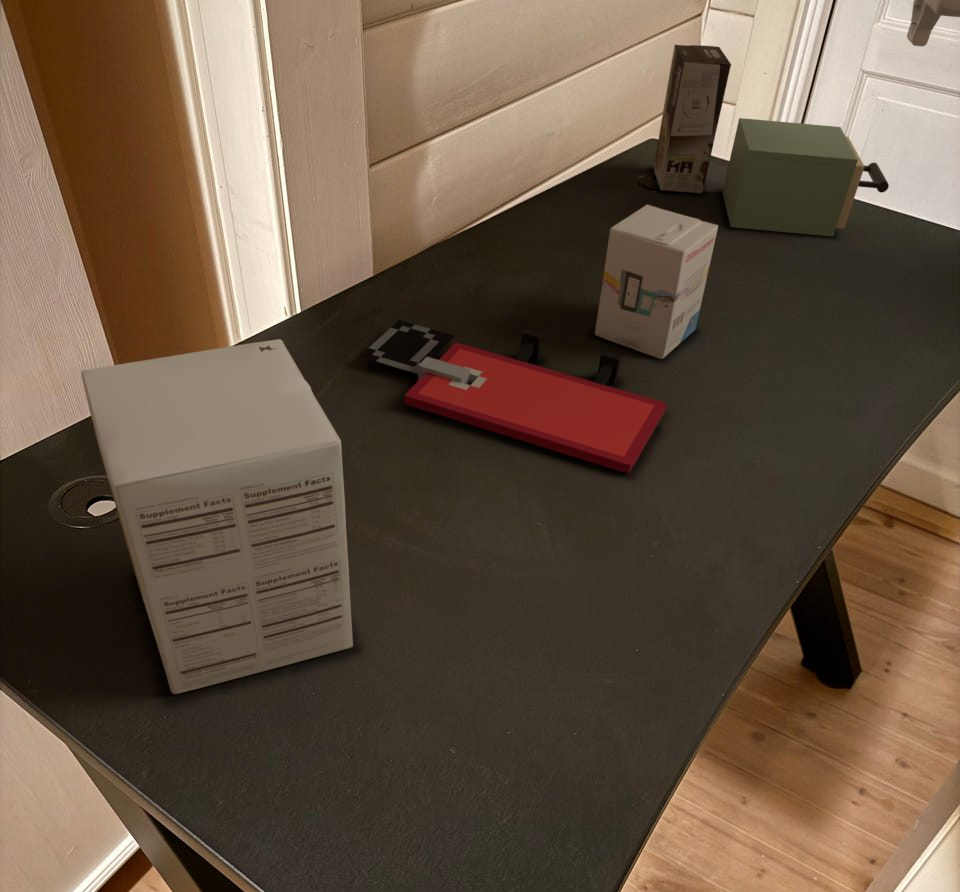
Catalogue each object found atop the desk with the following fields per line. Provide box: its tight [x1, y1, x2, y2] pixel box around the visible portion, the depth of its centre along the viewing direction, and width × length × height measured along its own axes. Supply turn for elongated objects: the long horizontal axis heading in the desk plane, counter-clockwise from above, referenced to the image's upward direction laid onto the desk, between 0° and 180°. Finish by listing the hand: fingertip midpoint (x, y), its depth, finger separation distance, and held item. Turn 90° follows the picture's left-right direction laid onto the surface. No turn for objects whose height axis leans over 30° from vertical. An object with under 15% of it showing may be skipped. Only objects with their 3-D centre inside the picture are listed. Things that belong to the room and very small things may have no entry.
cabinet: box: [721, 117, 858, 237], centre depth 125 cm, size 14×13×10 cm
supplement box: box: [80, 338, 354, 695], centre depth 63 cm, size 13×13×18 cm
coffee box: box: [653, 44, 732, 194], centre depth 129 cm, size 9×6×16 cm
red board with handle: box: [359, 319, 668, 475], centre depth 91 cm, size 30×3×15 cm
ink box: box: [594, 204, 719, 360], centre depth 98 cm, size 8×8×12 cm
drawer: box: [836, 135, 890, 230], centre depth 125 cm, size 17×11×8 cm
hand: (915, 43), depth 113 cm, fingers closed
